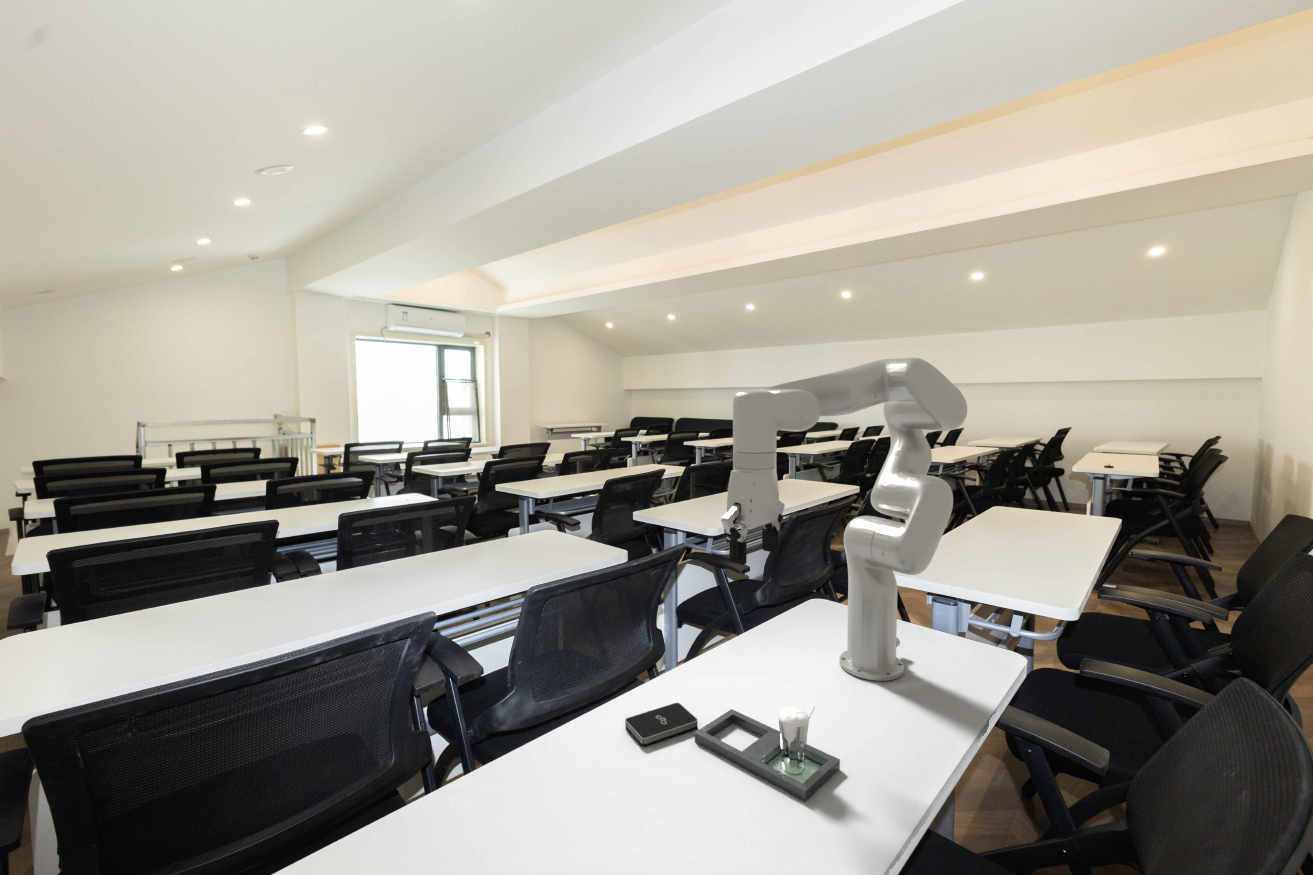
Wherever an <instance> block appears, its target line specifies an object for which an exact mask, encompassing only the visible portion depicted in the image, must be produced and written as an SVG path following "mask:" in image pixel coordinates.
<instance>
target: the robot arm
mask: <svg viewBox="0 0 1313 875" xmlns="http://www.w3.org/2000/svg"><path fill="white" fill-rule="evenodd" d="M880 404H883V415H884V419H885V422H886V426H887V428H888V429H887V430H888V432H889V437H890V447H889V450H888V454H887V456H886V459H885V460H884V462H883V465H882V467H881V469H880V472H879V473H878V475H877V478H876V480H875V483H874V485H873V488H872V490H871V493H870V504H871V506H872V507H873V509H874V510H876V512H879V513H880V514H883V515H885V516H889V517H893V518H898V519H901V520H907V521H906V523H905V522H900V521H895V520H892V519H887V518H883V517H879V516H872V515H861V516H856V517H854V518H853V519H851V520H850V521H849V522H848V523H847V525H846V527H845V529H844V531H843V547H844V551H845V552H844V553H845V558H846V564H847V565H846V566H847V574H848V575H847V578H848V579H847V583H848V587H847V588H848V590H847V641H846V642H847V643H846V644H847V650H845V651H844V652H842V653H841V654H840V655H839V665H840V667H841V668H842V669H843V670H844V671H845V672H846V673H847V674H850V675H853V676H855V677H858V678H860V679H864V680H868V681H869V680H870V681H876V682H877V681H878V682H879V681H880V682H885V681H886V682H887V681H893V680H897V679H898V678H900V677H902V676H903V674H904V673H905V666H904V663H903V662H902V660H901V659H899V658H898V657H897V648H898V647H900V645H901V640H900V639H899V638H898V637H897V626H898V625H897V618H898V617H897V616H898V583H897V579H896V576H895V572H896V573H898V574H899V573H900V574H903V575H908V576H916V575H921V573H923V572H924V571H925V570H926V569H927V568H928V567H929V565H930V563H931V562H932V560H933V557H934V555H935V554H936V551H937V549H938V547H939V544H940V542H941V540H942V537H943V534H944V532H945V531H946V528H947V524H949V520H950V518H951V515H952V512H953V508H954V494H953V491H952V488H951V486H950V484H948V482H947V481H945V480H944V479H943V478H940V477H938V476H935V475H928V472H929V469H930V467H931V465H932V461H933V452H932V449H931V446H930V444H929V442H928V439H927V437H926V436H925V433H924V431H941V432H943V431H944V432H946V431H952V430H955V429H957V428H959V427H960V426H961V425H963V423H965V420H966V418H967V415H968V403H967V400H966V398H965V396H964V394H963V392H962V391H961V390H960V389H959V388H958V387H957V386H956V385H955V384H954V383H953V382H952V381H951V380H950V379H948V377H946V375H945V374H943V373H942V371H940V370H939V369H938V368H936V366H934V365H932V363H930V362H929V361H927V360H925V359H922V358H920V357H906V358H902V357H901V358H888V359H878V360H874V361H870V362H867V363H862V364H859V365H856V366H854V367H853V366H852V367H850V368H845V369H843V370H842V369H841V370H837V371H834V372H828V373H825V374H819V375H815V376H812V377H808V378H802V379H798V380H792V381H789V382H784V383H780V384H777V385H773V386H769V387H765V388H762V389H760V390H745V391H738V392H736V393H735V395H734V396H733V400H732V434H733V435H732V438H733V439H732V444H733V445H732V447H733V448H732V470H730V476H729V480H728V487H727V498H726V513H725V514H724V515H723V516H722V518H721V520H720V521H721V524H722V526H723V532H724V533H725V535H726V538H727V540H729V562H731V563H732V564H733V563H735V564H738V565H742V566H744V565H746V564H747V561H748V560H747V557H748V556H747V554H748V553H747V552H748V551H747V541H745V539H746V536H747V534H748V532H749V530H752V529H755V528H758V527H764V528H762V529H761V530H762V531H761V532H762V536H761V537H762V538H761V541H762V542H761V548H762V550H763V551H765V552H768V553H774V554H777V553H779V550H780V549H779V548H780V547H779V543H780V542H779V536H780V535H779V531H780V530H781V527H782V526H781V522H782V519H783V518H784V517H783V514H784V511H785V507H786V505H785V503H783V501H780V492H779V490H780V489H779V481H778V473H777V472H778V471H777V455H778V454H777V440H778V439H777V436H778V435H777V432H778V431H785V432H805V431H807V430H809V429H811V428H813V427H814V426H815V425H817V423H818V421H819V419H820V418H821V417H837V416H845V415H850V414H854V413H857V412H859V411H862V410H865V409H868V408H871V407H874V406H877V405H880ZM923 430H924V431H923ZM738 529H740V531H738Z"/></svg>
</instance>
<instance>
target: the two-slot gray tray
mask: <svg viewBox="0 0 1313 875" xmlns="http://www.w3.org/2000/svg"><path fill="white" fill-rule="evenodd" d="M732 724H734V725H735V726H738V727H740V728H742V729H744V730H746V731H748V732H750V733H753V734H754V735H756V736H759V737H760V738H758V739H757V740H755V741H753V742H752V743H751V744H750V745H748V746H747V747H746V748H744V749H743V750H739V749H738V748H735V747H734V746H732V745H730V744H729V743H726V742H725V741H722V740H721V739H718V738H716V735H717V734H719V733H720V732H721V731H723V730H725V729H727V727H729V726H730V725H732ZM694 742H695V743H696V744H698V745H700V746H702V747H703V748H705V749H707V750H709V751H710V752H713V753H715V754H717V755H719V756H720V757H721V758H724V759H726V760H727V761H729V762H731V763H733V764H735V765H736V766H738V767H741V768H743V769H744V770H745V771H748V772H749V773H752V774H753V775H755V776H757V777H758V778H760V779H762V780H764V781H766V782H768V783H770V784H771V785H773V786H775V787H777V788H779V789H780V790H782V791H784V792H786V793H788V794H789V795H791V796H794V797H795V798H797V799H799V800H801V801H803V802H805V803H806V802H808V801H809V800H810V799H811V798H812V797H813V795H815V794H816V793H817V792H818V791H819V790H820V789H821V788H822V787H823V786H824V785H826V783H828V781H829V780H830V779H831V778H832V777H833V776H835V774H837V773H838V772H839V771H840V770H841V768H840V767H841V765H840V764H841V760H840V759H839V758H837V757H835V756H833V755H832V754H829V753H827V752H824V751H823V750H820V749H818V748H816V747H814V746H812V745H810V744H808V743H807V744H806V756H805V767H804V770H803V772H802V773H799V774H792V773H789V772H787V771H785V770H784V768H783V766H782V754H781V740H780V730H777V729H776V728H773V727H772V726H769V725H767V724H764V723H763V722H760V721H758V720H756V719H755V718H751V717H750V716H747V715H745V714H743V713H741V712H740V711H737V710H734V709H733V708H731V709H728V711H727V712H724V713H723V714H722V715H720V716H718V717H717V718H715V719H713V720H712V721H710V722H709V723H707V724H705V726H703V727H701V728H700V729H698V730H695V732H694Z"/></svg>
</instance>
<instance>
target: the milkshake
mask: <svg viewBox="0 0 1313 875" xmlns="http://www.w3.org/2000/svg"><path fill="white" fill-rule="evenodd" d="M815 708H816V707H815V706H814V707H813V708H812V710H811V713H810V714H809V715H808V714H807V712H806V711H805V710H803V709H801V708H799V707H797V706H785V707H783V708H782V709H781V710H780V711H779V713H778V725H779V726H778V727H779V731H780V740H781V754H782V766H783V768H784V770H785V771H787V772H789V773H792V774H799V773H802V772H803V770H804V767H805V756H806V744H808V743H807V742H808V733H809V732H808V731H809V723H810V718H811V716H812V715H813V713H814V711H815Z"/></svg>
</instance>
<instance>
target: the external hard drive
mask: <svg viewBox="0 0 1313 875" xmlns="http://www.w3.org/2000/svg"><path fill="white" fill-rule="evenodd" d="M624 720H625V722H624V725H625V726H624V727H625V729H626V731H627V733H629V734H630V735H631V736H632V737H633V739H634V740H635V741H636V742H637V743H638V744H639V746H641V747H642V748H648V747H650V746H653V745H656V744H659V743H661V742H665V741H669V740H670V739H673V738H676V737H679V736H681V735H685V734H689V733H691V732H694V731H697V729H698V725H699V724H698V720H699V719H698V718H697V717H696V716H695V715H694V714H692V713H691V712H690V711H689V710H688V709H687V708H685V706H684V705H682V704H681V703H680V702H674V703H671V704H667V705H664V706H661V707H656V708H655V709H651V710H648V711H645V712H644V711H643V712H642V713H638V714H635V715H632V716H629V717H626V718H625V719H624Z"/></svg>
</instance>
